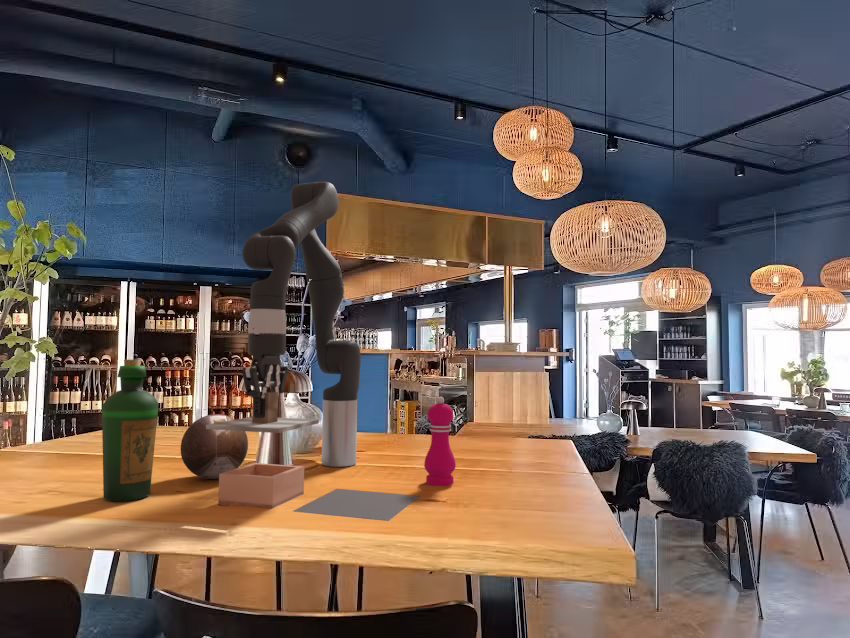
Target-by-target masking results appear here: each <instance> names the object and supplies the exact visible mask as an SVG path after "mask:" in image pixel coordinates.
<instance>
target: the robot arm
mask: <svg viewBox="0 0 850 638" xmlns="http://www.w3.org/2000/svg"><path fill="white" fill-rule="evenodd" d="M290 202H291V210H289V211H288V212H285V213H283V214H282V215H281V216H280V217H279V218H278V219H277V220H276V221H274V223H273V224H271V225H270V226H268V227H265V228H262V229H261V230H259V231H257V232H255V233H253V234H252V235H250V236H249V237H248V238H247V239H246V240H245V242H244V244H243V247H242V249H241V250H242V253H241V256H242V259H243V262H244V263H245V265H246V266H247V267H249V268H250V269H252V270H255V271H271V273H270V274H269V276H268V277H267V278H264V279H262V280H259V281H254V282H252V284H251V287H250V301H249V303H250V304H249V305H250V307H249V309H250V310H249V316H248V328H247V329H248V332H247V354H248V355H250V356H251V357H252V360H251V364H250V365H249V366H248V367H243V368H242V369H241V372H242V378H243V382H244V387H245V388H244V389H245V393H246V396H247V397H251V399H252V400H253V399H254V412H253V411H252V413H254V417H255V418H264V417H265V399H264V398H265V396H266V392H278V397H279V396H280V394H283V393H284V390H285V386H286V381H287V376H288V371H289V367H288V365H287V366H284V365H282V362H281V357H280V356H284V355H286V350H287V349H286V347H287V316H286V306H287V305H286V302H287V301H286V299H287V298H286V296H287V288H288V285H289V281H290V277H291V275H292V271H293V267H294V264H295V260H296V253H297V251H296V248H297V247H299V246H300V247H301V250H302V257H303V263H304V268H305V269H304V270H305V278H306V282H307V289H308V295H309V299H310V305H311V306H310V307H311V311H312V318H313V325H314V326H313V327H314V337H315V350H316V358H317V359H316V360H317V364H318V367H319V369H320V371H321V372H322V373H324V374H326V375H340V376H339V377H340V378H339V381H338V382H336V383H335V384H334V385H332V386H329V387H325V388H324V389H323V390H322V391H323V392H322V422H321V423H322V424H321V425H322V427H321V428H322V431H321V465H323V466H326V467H331V468H334V467H336V468H337V467H339V468H340V467H350V466H354V465H356V464H357V438H358V437H357V435H358V432H357V431H358V430H357V429H358V426H357V425H358V422H357V421H358V393H359V388H360V377H361V376H360V375H361V359H362V357H361V356H362V355H361V349H360V346H359V344H358V343H357V342H356V341H355V340H343V339H342V340H339V339H338V340H337V339H334V328H333V325H334V321H335V317H336V314H337V312H338V310H339V308H340V305H341V303H342V300H343V298H344V294H345V288H344V280H343V275H342V269H341V266H340V263H339V262H338V261H337V260H336V258H335V257H334V256H333V254H332V253H331V252H330V251H329V250H328V249H327V248H326V246H325V245H324V244H323V243H322V241H321V240H320V238H319V236H318V234H317V231H316V228H317V227H319V226H321V225H322V224H323V223H325V222H326V221H327V220H330V219H331V218H333V217H334V216H335V215H336V214H337V212H338V208H339V196H338V192H337V189H336V187H335V186H334V184H332V183H331V182H328V181H314V182H306V183H305V182H304V183H299V184H295V185H293V187H292V188H291V191H290ZM309 279H312V280H311V281H310V284H309V286H308V282H309Z"/></svg>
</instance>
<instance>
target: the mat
mask: <svg viewBox="0 0 850 638" xmlns="http://www.w3.org/2000/svg"><path fill="white" fill-rule="evenodd" d="M420 497H421V495H418V494H406V493H405V494H404V493H403V494H402V493H396V492H395V493H394V492H381V491H380V492H379V491H369V490H368V491H367V490H358V489H357V490H356V489H347V488H346V489H345V488H335V489H333V490H332V491H329V492H327V493H325V494H323V495H321V496H319V497H318V498H316V499H314V500H312V501H309V502H308V503H305V504H304V505H302V506H300V507H299V506H298V507H297V508H295V509H294V510H293V512H297V513H307V514H316V515H324V516H325V515H326V516H327V515H328V516H337V517H344V518H345V517H347V518H356V519H366V520H367V519H368V520H375V521H376V520H377V521H386V522H388V521H391V519H393V518H394V517H395V516H397V515H398V514H399V513H401V512H402V511H403V510H405V509H406V508H407V507H408V506H409V505H411V504H412V503H413V502H414V501H416V500H417V499H418V498H420Z"/></svg>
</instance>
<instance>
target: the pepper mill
mask: <svg viewBox="0 0 850 638" xmlns="http://www.w3.org/2000/svg"><path fill="white" fill-rule="evenodd" d="M453 419H454V411H453V408H452V407H451V406H450V405H448V404H446V403H445V399H444V397H443V396H438V397H437V399H436V403H435V404H432V405H431V406H429V409H428V410H427V420H428V421H429V423H430V424H429V431H430V433H431V442H430V445H429V446H430V447H429V449H428V451H427V453H426V456H425V459H424V464H423V467H424V469H425V471H426V472H427V475H426V477H425V478H426V479H425V483H426V484H428V485H432V486H443V487H445V486H450V485H453V484H454V476H453V475H452V473H453V472H454V471H455V470H456V459H455V456H454V453H453V452H452V448H451V445H450V437H449V435H450V432H452V425H451V424H450V423H451V422H452V421H453Z"/></svg>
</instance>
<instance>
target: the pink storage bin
mask: <svg viewBox="0 0 850 638" xmlns="http://www.w3.org/2000/svg"><path fill="white" fill-rule="evenodd" d="M304 492H305V466H303V465H287V464H274V463H262V462H252V463H249V464H247V465H243V466H239V467H238V468H236V469H233V470H230V471H227V472H223V473H220V474H219V478H218V502H217V504H218V506H226V507H229V506H231V505H233V506H234V505H235V506H244V507H253V508H255V507H256V508H265V509H275V508H277V507H279V506H281V505H283V504H286V503H287V502H290V501H292V500H294V499H296V498H298V497H301V496H302V495H304V494H305V493H304Z"/></svg>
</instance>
